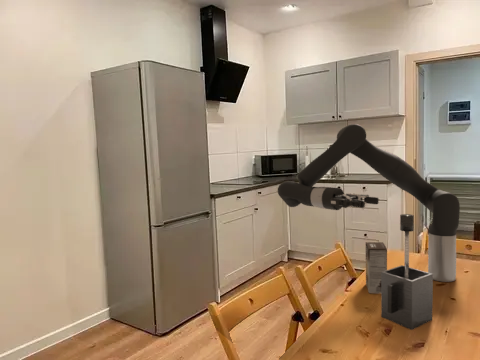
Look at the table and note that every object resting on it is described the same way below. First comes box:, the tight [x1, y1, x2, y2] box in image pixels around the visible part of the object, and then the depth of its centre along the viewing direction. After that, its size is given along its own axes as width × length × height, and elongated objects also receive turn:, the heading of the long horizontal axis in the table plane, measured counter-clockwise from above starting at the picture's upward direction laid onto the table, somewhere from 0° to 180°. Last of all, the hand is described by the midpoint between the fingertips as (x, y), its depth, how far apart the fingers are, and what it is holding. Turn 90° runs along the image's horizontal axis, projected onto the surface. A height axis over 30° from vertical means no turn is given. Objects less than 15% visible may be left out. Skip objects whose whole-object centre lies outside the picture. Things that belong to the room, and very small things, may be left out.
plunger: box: [399, 213, 415, 280], centre depth 110 cm, size 8×8×21 cm
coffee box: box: [365, 241, 388, 294], centre depth 134 cm, size 9×6×16 cm
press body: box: [380, 264, 434, 331], centre depth 110 cm, size 13×10×14 cm
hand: (371, 202), depth 117 cm, fingers open, 8 cm apart
